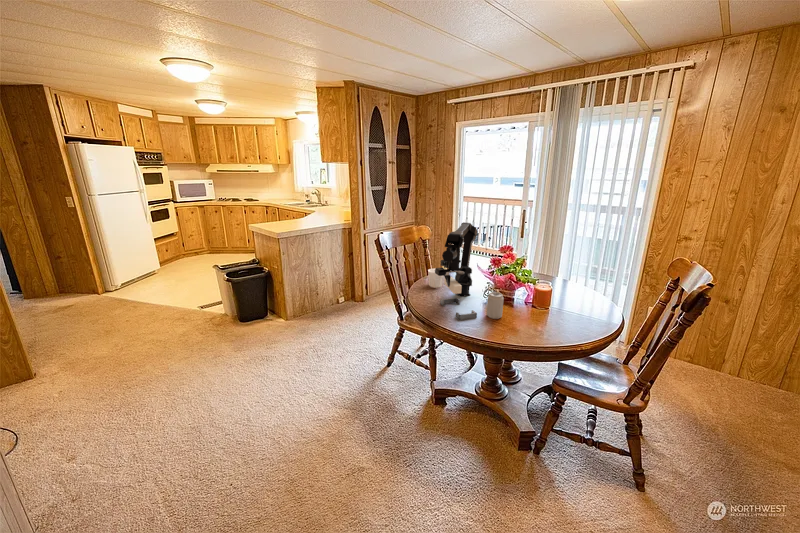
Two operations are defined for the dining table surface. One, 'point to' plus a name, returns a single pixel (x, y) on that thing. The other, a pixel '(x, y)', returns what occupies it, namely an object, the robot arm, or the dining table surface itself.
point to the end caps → (458, 316)
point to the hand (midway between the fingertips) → (452, 286)
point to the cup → (435, 279)
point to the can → (495, 305)
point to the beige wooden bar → (454, 286)
